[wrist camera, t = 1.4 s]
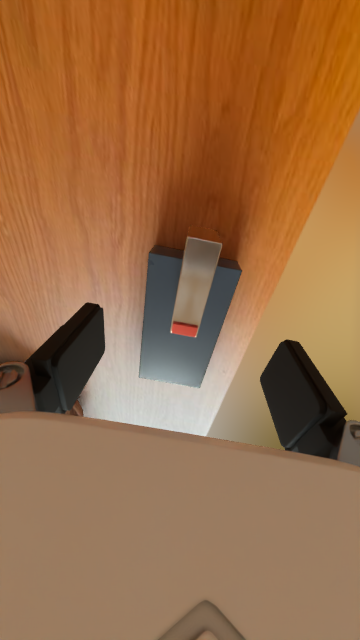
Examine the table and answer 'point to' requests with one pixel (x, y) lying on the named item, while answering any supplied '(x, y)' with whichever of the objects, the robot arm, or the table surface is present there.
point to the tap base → (157, 342)
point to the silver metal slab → (195, 279)
